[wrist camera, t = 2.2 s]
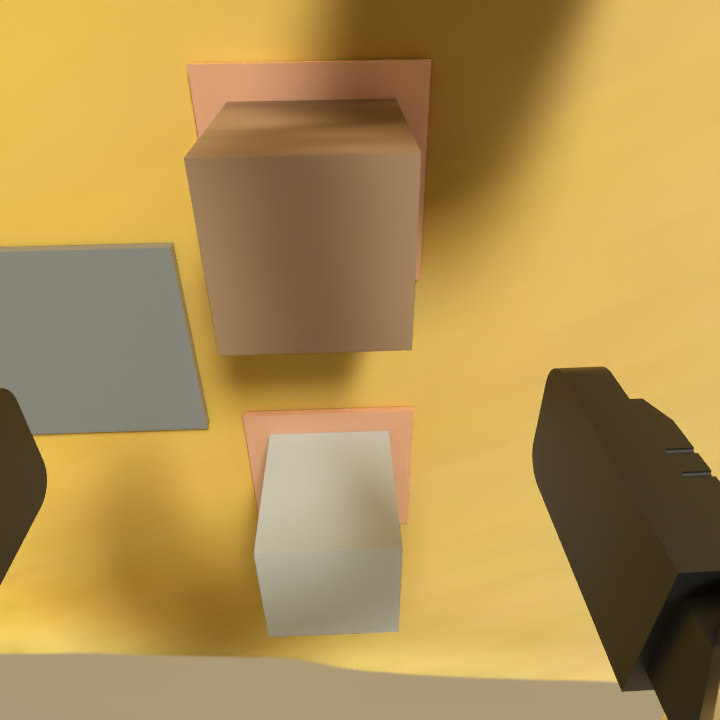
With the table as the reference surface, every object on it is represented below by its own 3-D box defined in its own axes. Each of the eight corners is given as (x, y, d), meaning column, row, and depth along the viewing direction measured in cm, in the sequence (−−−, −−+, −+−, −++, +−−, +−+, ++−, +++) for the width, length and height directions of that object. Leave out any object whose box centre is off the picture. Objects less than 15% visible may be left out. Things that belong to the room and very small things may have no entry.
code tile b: (412, 406, 24) (413, 411, 24) (406, 519, 28) (407, 524, 28) (243, 411, 24) (242, 416, 24) (261, 524, 28) (260, 529, 28)
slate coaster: (172, 242, 20) (170, 247, 20) (209, 422, 24) (207, 428, 24) (-66, 248, 20) (-73, 253, 19) (15, 428, 24) (11, 435, 24)
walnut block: (396, 98, 17) (421, 153, 12) (392, 254, 20) (411, 350, 15) (227, 101, 17) (184, 157, 12) (247, 258, 20) (218, 356, 15)
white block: (388, 430, 25) (402, 548, 20) (386, 511, 27) (398, 631, 23) (269, 434, 25) (253, 553, 20) (280, 514, 27) (268, 637, 22)
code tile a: (430, 59, 17) (431, 60, 17) (418, 276, 21) (419, 280, 21) (189, 63, 17) (186, 64, 17) (223, 281, 21) (221, 285, 21)
